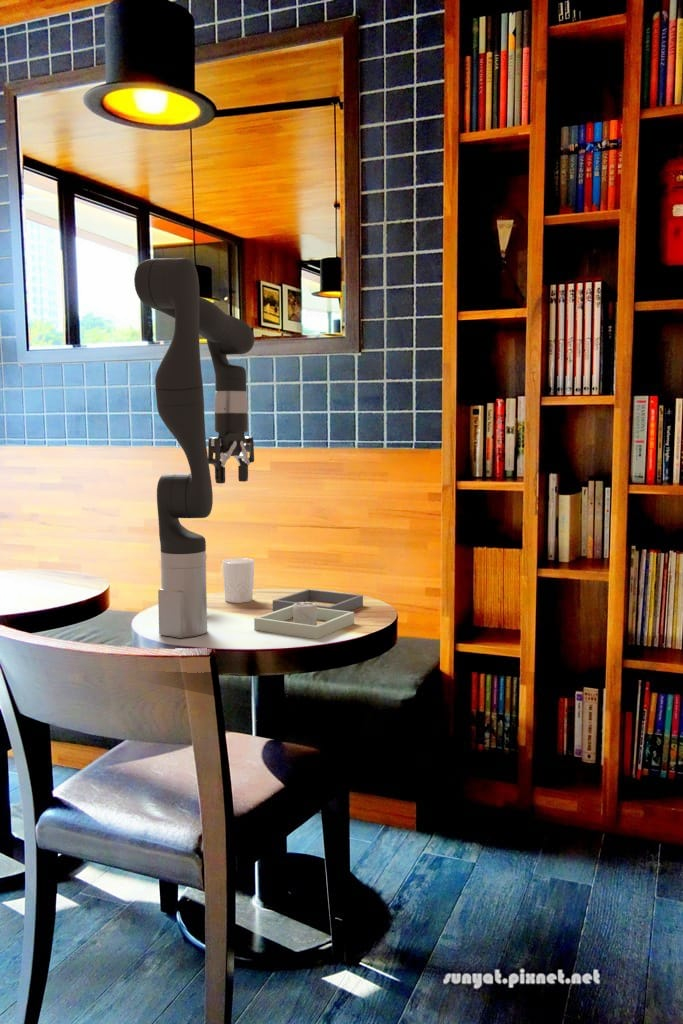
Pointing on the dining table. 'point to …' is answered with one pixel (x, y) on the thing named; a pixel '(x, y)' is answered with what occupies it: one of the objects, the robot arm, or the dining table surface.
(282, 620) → the sage frame
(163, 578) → the robot arm
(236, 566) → the white cup
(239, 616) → the dining table surface
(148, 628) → the dining table surface
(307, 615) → the die
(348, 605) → the gray frame
